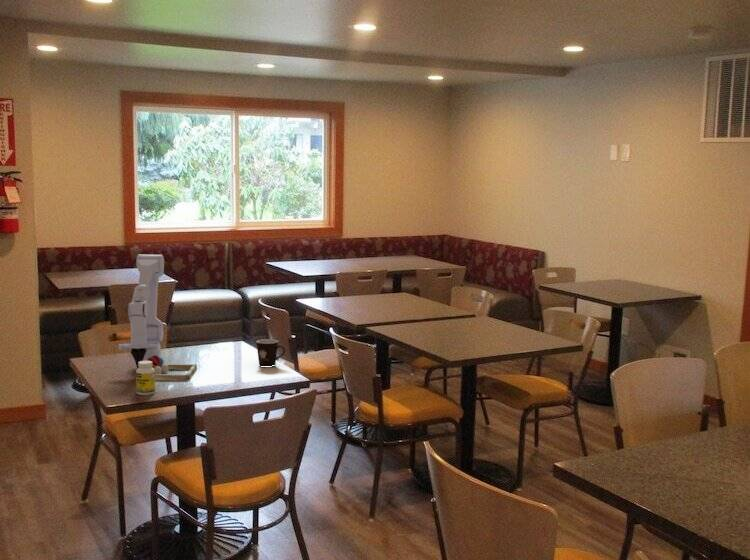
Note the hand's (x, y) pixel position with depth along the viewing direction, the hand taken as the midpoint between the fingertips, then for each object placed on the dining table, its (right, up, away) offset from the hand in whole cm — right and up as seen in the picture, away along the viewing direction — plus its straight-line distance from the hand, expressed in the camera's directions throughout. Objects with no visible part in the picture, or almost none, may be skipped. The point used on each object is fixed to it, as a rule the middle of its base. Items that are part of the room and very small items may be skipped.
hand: (139, 368), depth 295 cm
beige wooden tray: (+12, -3, +1) cm, 13 cm away
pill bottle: (+10, -6, -25) cm, 27 cm away
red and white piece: (+6, -3, +1) cm, 6 cm away
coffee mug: (+47, -1, +17) cm, 50 cm away
